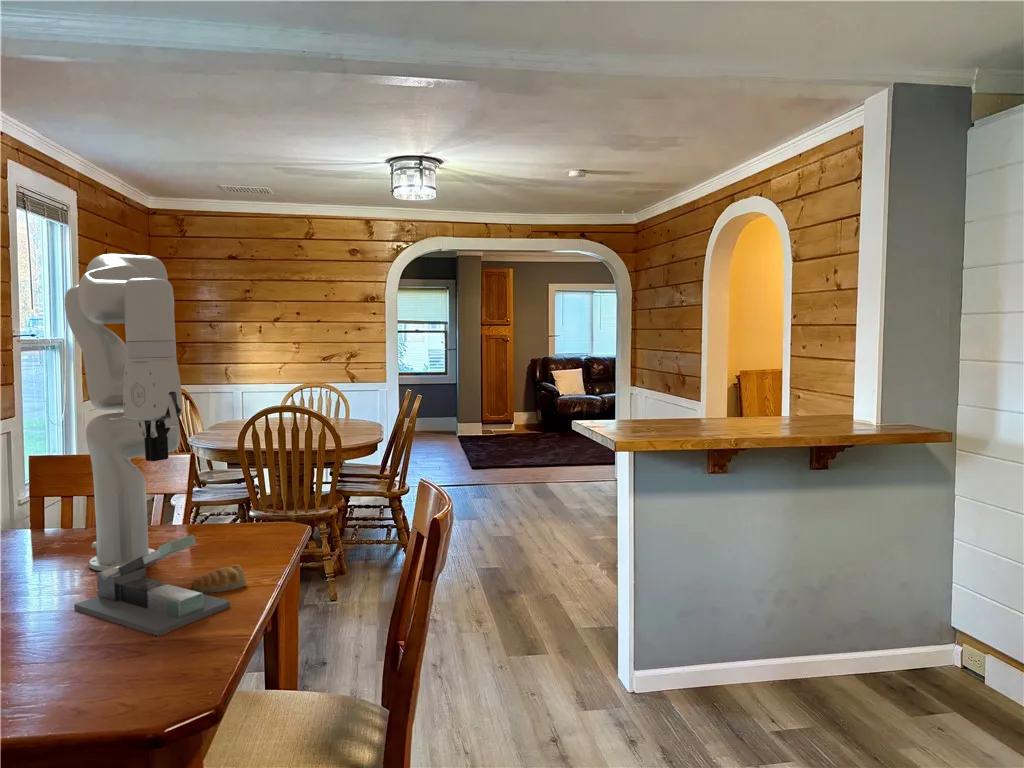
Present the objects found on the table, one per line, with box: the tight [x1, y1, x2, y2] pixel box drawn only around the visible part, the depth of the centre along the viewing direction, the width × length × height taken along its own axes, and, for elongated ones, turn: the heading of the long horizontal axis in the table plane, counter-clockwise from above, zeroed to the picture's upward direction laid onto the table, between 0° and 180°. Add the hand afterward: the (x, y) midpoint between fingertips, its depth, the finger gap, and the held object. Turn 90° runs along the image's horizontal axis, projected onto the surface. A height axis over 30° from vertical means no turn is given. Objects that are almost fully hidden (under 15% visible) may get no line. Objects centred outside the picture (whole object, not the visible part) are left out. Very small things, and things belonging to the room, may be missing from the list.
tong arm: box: [119, 534, 197, 576], centre depth 126 cm, size 16×5×2 cm, turn 60°
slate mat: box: [73, 594, 231, 637], centre depth 127 cm, size 23×14×1 cm, turn 61°
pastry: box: [190, 564, 247, 594], centre depth 137 cm, size 9×7×4 cm
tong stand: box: [96, 563, 204, 619], centre depth 127 cm, size 22×6×5 cm, turn 61°
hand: (157, 459), depth 123 cm, fingers closed
